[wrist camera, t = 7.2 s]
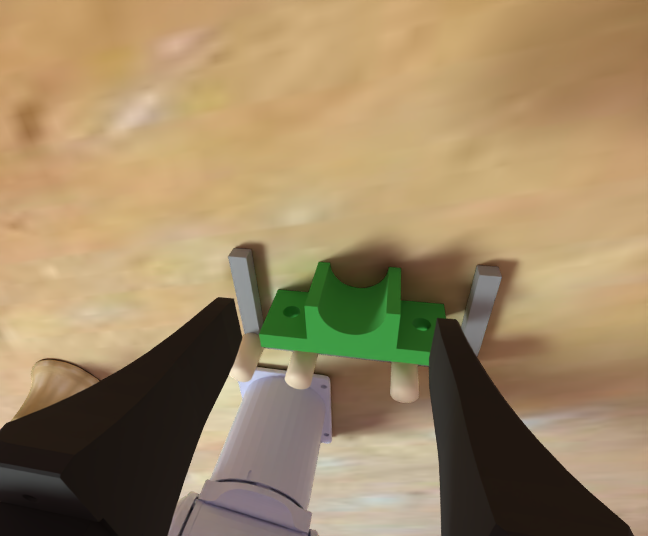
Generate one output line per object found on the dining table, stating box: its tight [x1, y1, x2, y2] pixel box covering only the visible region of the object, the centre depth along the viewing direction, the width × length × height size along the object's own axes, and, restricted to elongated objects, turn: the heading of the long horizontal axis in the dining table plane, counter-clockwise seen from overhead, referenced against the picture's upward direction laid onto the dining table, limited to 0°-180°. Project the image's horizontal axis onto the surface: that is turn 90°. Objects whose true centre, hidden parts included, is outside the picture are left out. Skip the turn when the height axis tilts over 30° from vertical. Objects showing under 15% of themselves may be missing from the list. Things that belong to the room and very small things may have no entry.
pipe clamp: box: [259, 262, 446, 366], centre depth 23 cm, size 11×4×5 cm, turn 92°
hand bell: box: [11, 360, 99, 421], centre depth 32 cm, size 8×8×16 cm
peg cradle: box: [228, 248, 502, 403], centre depth 24 cm, size 8×17×4 cm, turn 92°
